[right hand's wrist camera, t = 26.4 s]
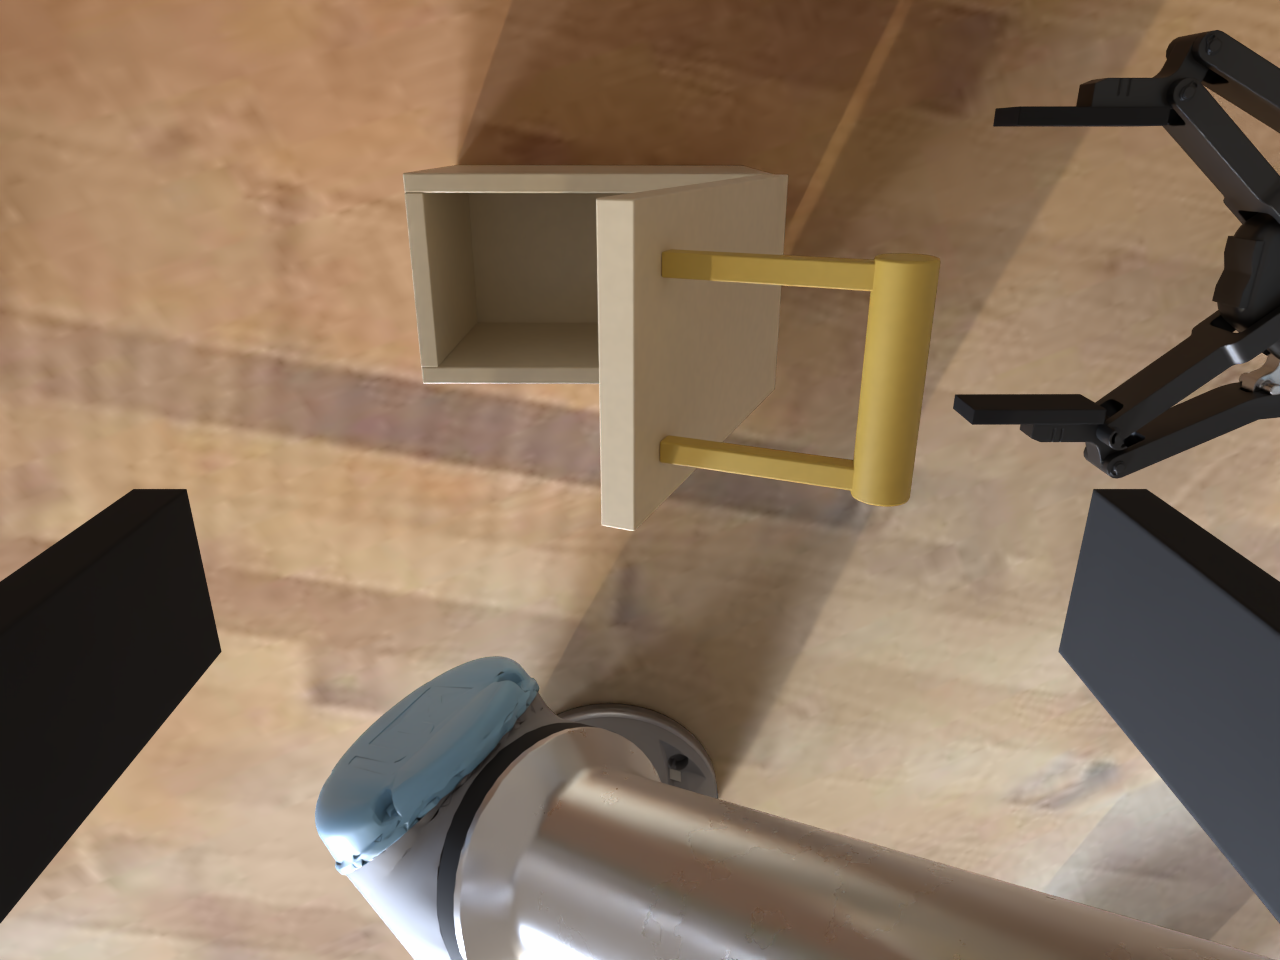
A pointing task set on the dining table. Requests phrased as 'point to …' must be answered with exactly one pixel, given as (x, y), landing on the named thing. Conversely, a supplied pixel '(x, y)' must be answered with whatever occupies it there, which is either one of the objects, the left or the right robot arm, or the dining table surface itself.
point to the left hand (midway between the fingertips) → (982, 272)
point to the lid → (738, 345)
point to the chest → (517, 265)
